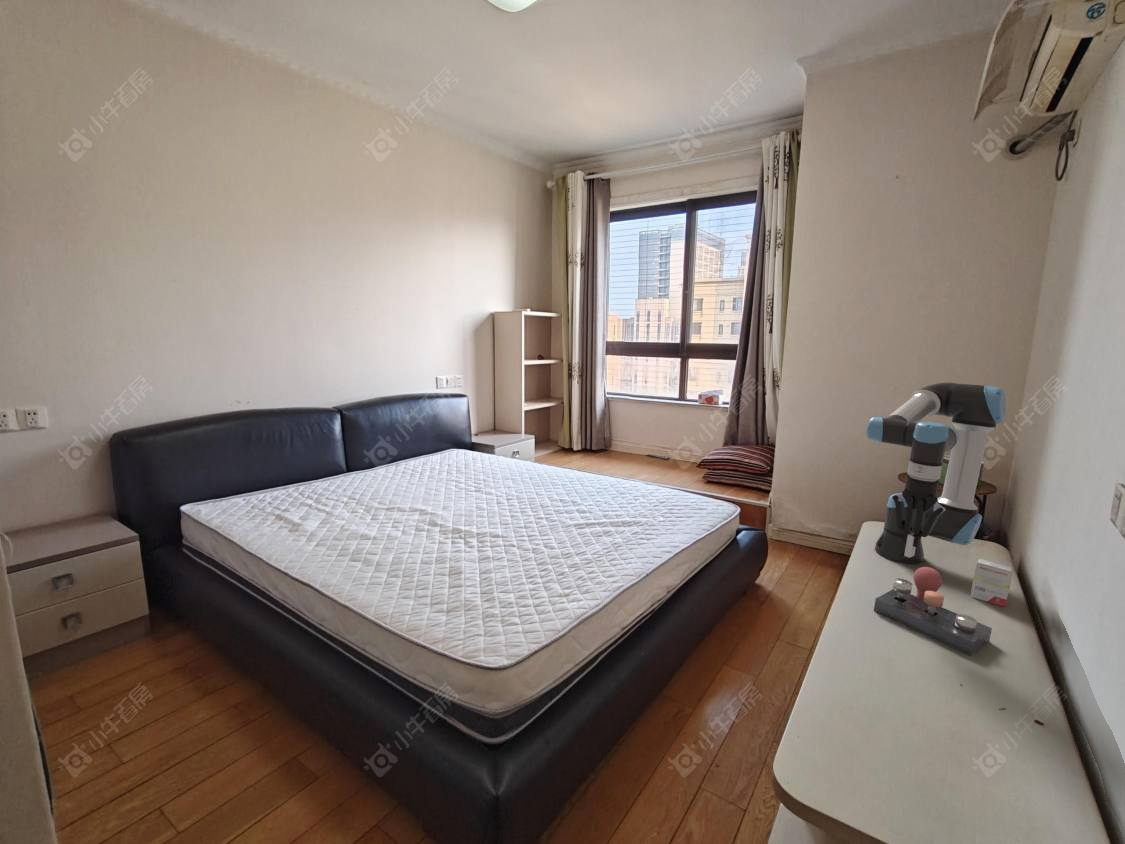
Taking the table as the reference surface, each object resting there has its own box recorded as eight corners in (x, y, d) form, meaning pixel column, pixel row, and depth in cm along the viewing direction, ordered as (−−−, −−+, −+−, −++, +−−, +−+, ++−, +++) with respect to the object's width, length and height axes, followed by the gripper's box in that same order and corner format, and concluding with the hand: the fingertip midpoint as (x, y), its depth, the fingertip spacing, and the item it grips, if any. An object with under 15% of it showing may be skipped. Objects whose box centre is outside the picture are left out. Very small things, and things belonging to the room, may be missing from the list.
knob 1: (895, 595, 152) (898, 577, 151) (911, 602, 149) (915, 583, 148) (888, 599, 150) (891, 580, 149) (904, 606, 147) (907, 587, 145)
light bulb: (942, 612, 150) (949, 575, 148) (915, 609, 152) (922, 572, 149) (930, 600, 157) (936, 564, 155) (904, 597, 158) (911, 561, 156)
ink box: (1006, 601, 157) (1014, 566, 155) (1005, 607, 154) (1013, 571, 152) (971, 591, 163) (978, 557, 161) (969, 596, 160) (976, 562, 157)
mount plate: (893, 599, 157) (895, 587, 156) (989, 641, 137) (992, 628, 136) (873, 610, 150) (875, 598, 150) (970, 656, 131) (973, 642, 130)
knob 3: (956, 632, 140) (960, 612, 139) (975, 640, 136) (979, 620, 135) (949, 637, 138) (953, 617, 136) (968, 645, 134) (973, 625, 133)
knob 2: (925, 608, 146) (929, 589, 145) (943, 615, 142) (947, 596, 141) (918, 612, 144) (921, 593, 142) (936, 620, 140) (939, 600, 139)
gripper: (891, 473, 145) (878, 549, 150) (944, 486, 134) (928, 568, 139) (903, 469, 149) (891, 544, 154) (956, 481, 138) (940, 561, 143)
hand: (909, 555), depth 146 cm, fingers closed
